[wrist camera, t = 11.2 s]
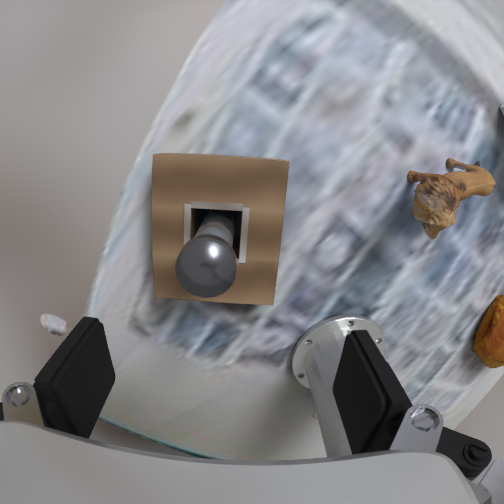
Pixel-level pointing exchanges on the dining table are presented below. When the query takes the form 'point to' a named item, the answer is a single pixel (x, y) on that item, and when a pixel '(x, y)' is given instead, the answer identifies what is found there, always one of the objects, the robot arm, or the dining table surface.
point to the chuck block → (223, 198)
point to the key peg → (209, 257)
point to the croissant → (491, 335)
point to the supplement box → (502, 108)
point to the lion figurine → (447, 194)
